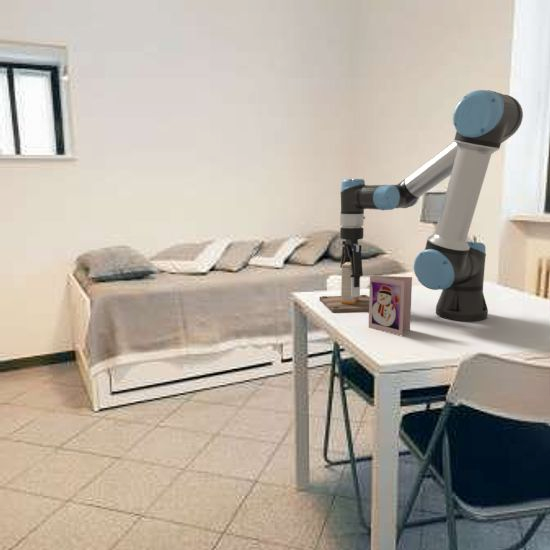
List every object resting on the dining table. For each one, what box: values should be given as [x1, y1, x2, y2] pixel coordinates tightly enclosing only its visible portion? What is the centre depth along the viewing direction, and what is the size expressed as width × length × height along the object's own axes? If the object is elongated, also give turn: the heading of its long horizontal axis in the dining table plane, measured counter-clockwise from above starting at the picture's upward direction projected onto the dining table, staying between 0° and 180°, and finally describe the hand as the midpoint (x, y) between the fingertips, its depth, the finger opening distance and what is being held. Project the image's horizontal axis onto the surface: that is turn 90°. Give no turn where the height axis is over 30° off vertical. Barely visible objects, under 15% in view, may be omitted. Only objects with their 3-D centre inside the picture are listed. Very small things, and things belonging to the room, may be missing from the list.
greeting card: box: [368, 275, 413, 336], centre depth 147 cm, size 11×7×15 cm, turn 42°
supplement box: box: [340, 262, 359, 304], centre depth 176 cm, size 8×5×13 cm, turn 161°
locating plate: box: [319, 294, 369, 313], centre depth 177 cm, size 18×17×2 cm
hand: (350, 293), depth 177 cm, fingers open, 10 cm apart
